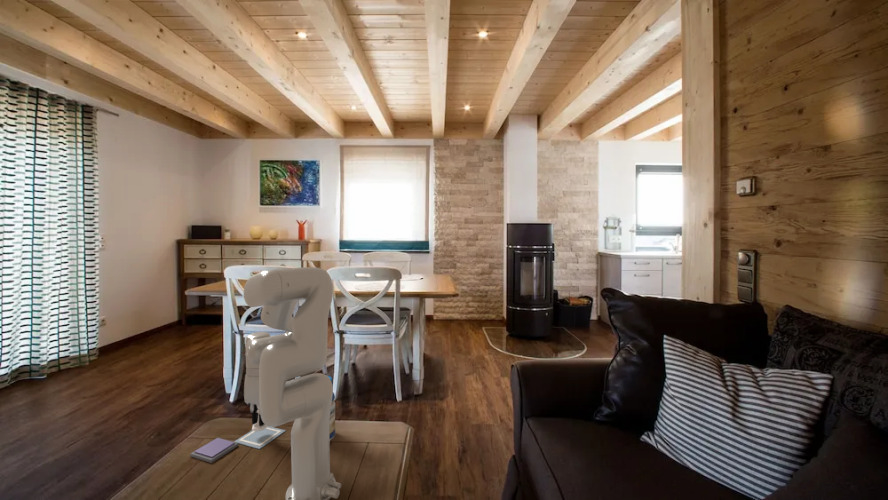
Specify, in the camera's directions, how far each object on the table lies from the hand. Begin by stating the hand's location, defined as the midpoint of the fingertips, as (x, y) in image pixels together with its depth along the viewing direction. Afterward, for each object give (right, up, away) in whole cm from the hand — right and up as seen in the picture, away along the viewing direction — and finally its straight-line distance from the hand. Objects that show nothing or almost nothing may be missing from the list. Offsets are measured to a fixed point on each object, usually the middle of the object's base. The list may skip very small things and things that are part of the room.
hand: (260, 422), depth 119 cm
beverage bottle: (+21, -5, 0) cm, 22 cm away
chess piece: (0, -2, 0) cm, 2 cm away
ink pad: (-10, -5, -8) cm, 14 cm away
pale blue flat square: (0, -5, 0) cm, 5 cm away
